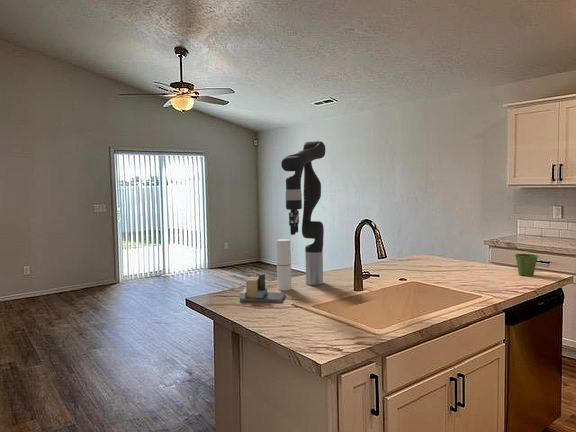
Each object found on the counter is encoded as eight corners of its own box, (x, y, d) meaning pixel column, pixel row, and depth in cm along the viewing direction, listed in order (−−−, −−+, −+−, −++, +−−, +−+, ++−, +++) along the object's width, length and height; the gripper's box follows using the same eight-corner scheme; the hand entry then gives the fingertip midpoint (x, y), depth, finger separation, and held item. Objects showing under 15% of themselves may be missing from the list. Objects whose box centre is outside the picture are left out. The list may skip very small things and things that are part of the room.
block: (250, 293, 206) (250, 276, 206) (260, 293, 206) (260, 276, 205) (246, 297, 199) (246, 280, 198) (257, 297, 198) (256, 280, 198)
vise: (246, 295, 209) (246, 286, 209) (285, 295, 206) (285, 287, 206) (239, 301, 197) (239, 293, 197) (280, 302, 194) (280, 294, 194)
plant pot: (543, 276, 238) (543, 255, 237) (527, 278, 233) (528, 257, 232) (524, 272, 249) (524, 252, 248) (509, 274, 244) (509, 254, 243)
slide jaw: (261, 291, 207) (261, 272, 207) (267, 292, 207) (267, 272, 206) (256, 297, 196) (255, 277, 196) (262, 298, 196) (262, 277, 195)
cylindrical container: (279, 290, 216) (278, 241, 214) (275, 287, 223) (274, 239, 221) (293, 289, 218) (292, 240, 216) (289, 286, 225) (288, 238, 223)
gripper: (299, 199, 195) (300, 235, 196) (303, 198, 209) (304, 231, 210) (283, 200, 196) (283, 235, 198) (288, 198, 210) (289, 231, 212)
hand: (294, 233), depth 204 cm, fingers open, 8 cm apart
